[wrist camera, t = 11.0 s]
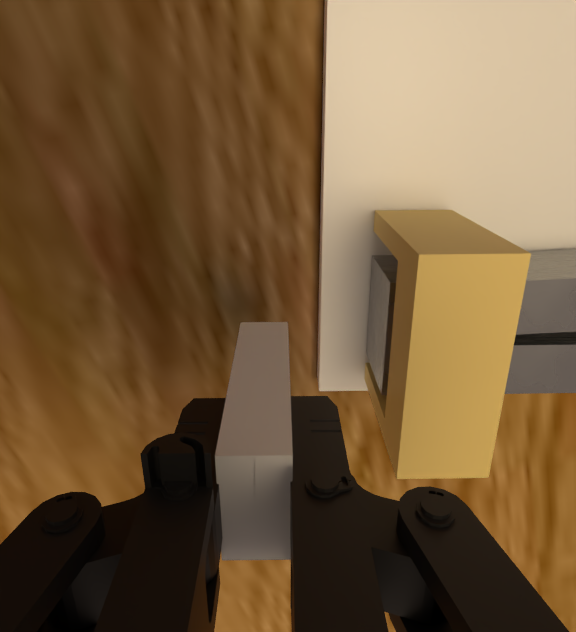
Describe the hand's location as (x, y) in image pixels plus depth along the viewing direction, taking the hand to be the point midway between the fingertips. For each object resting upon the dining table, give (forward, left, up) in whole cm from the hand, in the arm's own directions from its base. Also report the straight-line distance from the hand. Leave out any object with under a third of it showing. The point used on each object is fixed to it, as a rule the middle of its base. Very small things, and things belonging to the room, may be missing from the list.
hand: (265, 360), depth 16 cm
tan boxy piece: (+6, 0, -5) cm, 8 cm away
